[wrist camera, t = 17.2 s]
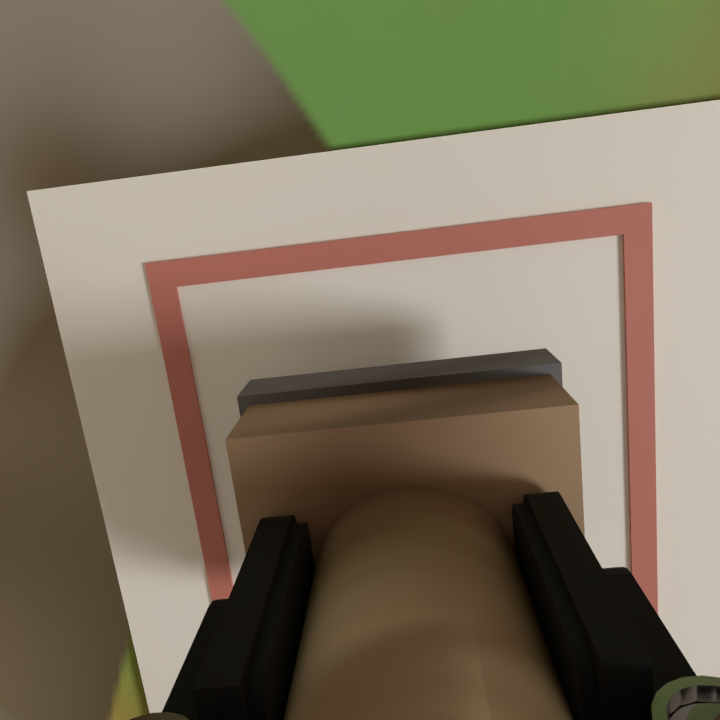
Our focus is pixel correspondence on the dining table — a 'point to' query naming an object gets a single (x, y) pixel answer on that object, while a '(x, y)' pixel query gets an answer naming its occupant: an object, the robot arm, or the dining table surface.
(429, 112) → the dining table surface
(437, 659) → the stamp
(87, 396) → the paper sheet
